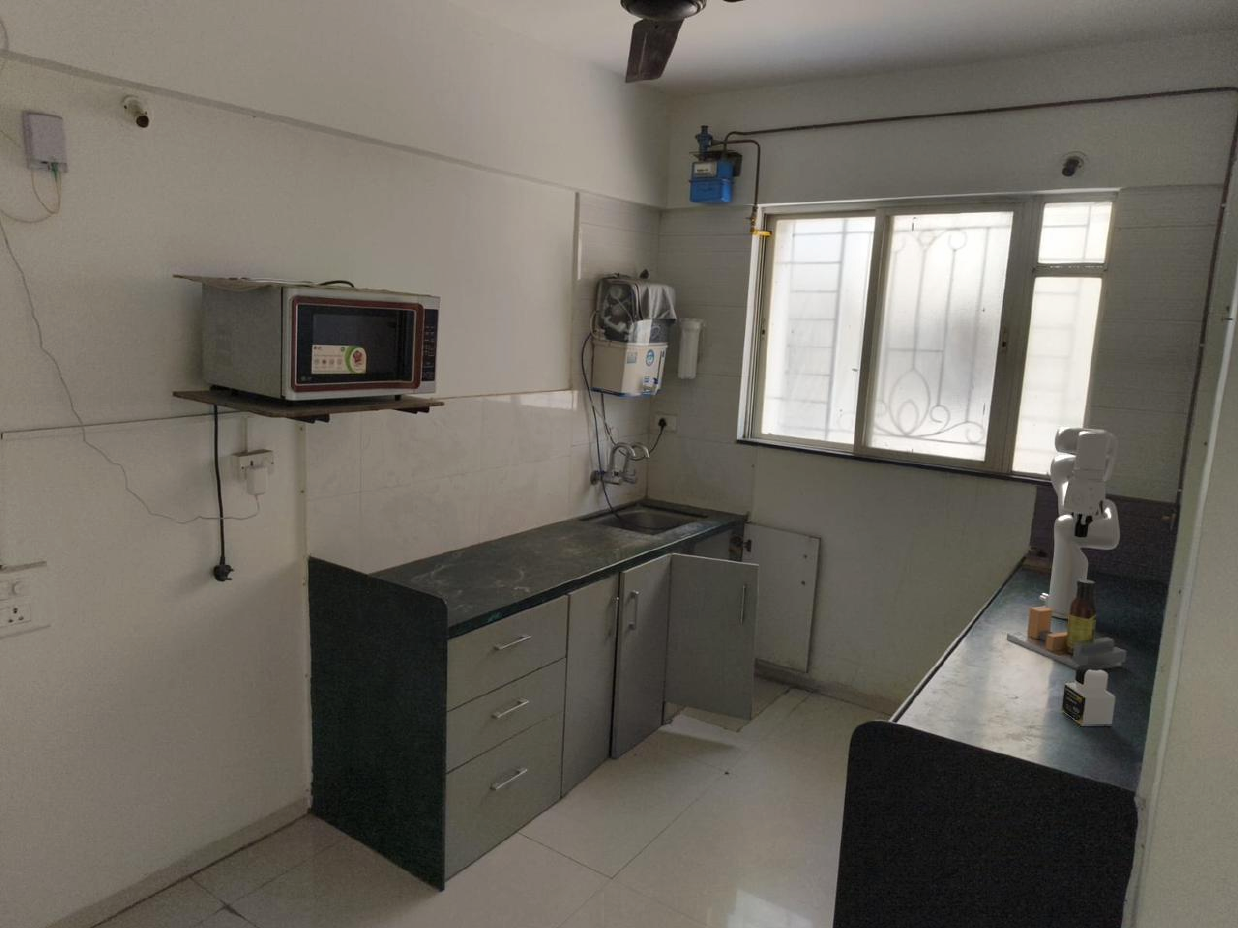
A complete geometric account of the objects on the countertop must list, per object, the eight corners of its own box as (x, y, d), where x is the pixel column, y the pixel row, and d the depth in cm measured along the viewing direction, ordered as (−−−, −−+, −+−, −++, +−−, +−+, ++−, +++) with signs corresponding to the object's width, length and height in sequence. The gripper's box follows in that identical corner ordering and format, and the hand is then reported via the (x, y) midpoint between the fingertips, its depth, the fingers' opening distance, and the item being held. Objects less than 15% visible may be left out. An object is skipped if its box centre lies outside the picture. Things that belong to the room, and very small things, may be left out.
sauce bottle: (1095, 658, 208) (1105, 585, 205) (1069, 656, 209) (1078, 583, 206) (1086, 649, 214) (1095, 579, 211) (1061, 647, 216) (1070, 576, 213)
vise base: (1006, 638, 225) (1009, 616, 224) (1042, 634, 230) (1045, 612, 229) (1086, 673, 202) (1089, 649, 201) (1124, 667, 207) (1127, 643, 206)
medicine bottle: (1060, 712, 179) (1066, 661, 177) (1090, 712, 179) (1096, 661, 178) (1081, 727, 172) (1088, 674, 170) (1112, 727, 172) (1119, 674, 171)
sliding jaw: (1017, 636, 222) (1021, 608, 221) (1049, 632, 227) (1052, 605, 226) (1051, 650, 212) (1055, 621, 211) (1083, 646, 217) (1087, 617, 215)
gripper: (1056, 470, 233) (1049, 531, 236) (1102, 479, 219) (1094, 543, 222) (1075, 469, 235) (1067, 529, 238) (1122, 478, 221) (1113, 542, 224)
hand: (1080, 536), depth 230 cm, fingers closed
